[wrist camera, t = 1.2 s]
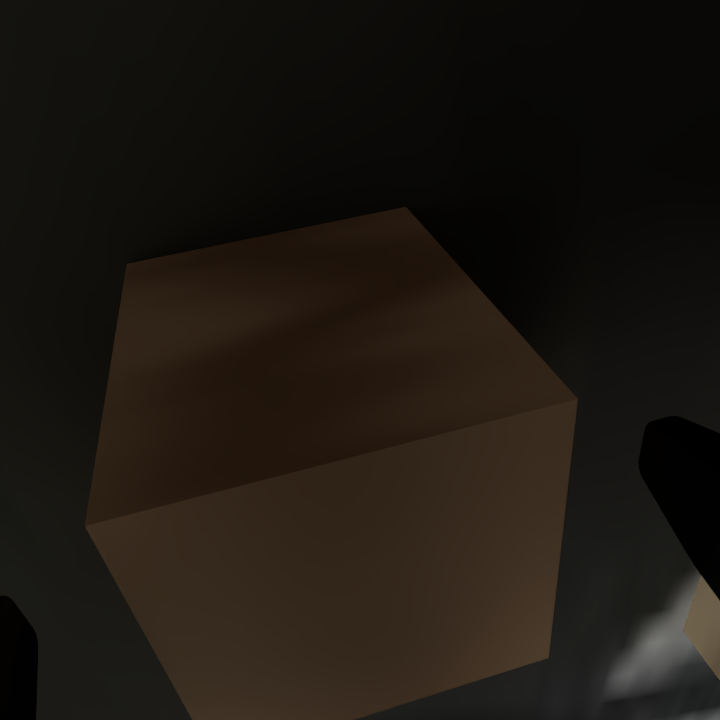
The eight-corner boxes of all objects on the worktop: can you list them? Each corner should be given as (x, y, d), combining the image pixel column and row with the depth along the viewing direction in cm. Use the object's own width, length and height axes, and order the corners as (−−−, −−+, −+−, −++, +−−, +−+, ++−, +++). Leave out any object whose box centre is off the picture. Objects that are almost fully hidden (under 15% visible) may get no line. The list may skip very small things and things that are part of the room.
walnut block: (405, 205, 11) (577, 399, 6) (420, 415, 14) (548, 658, 9) (126, 262, 11) (84, 526, 6) (201, 470, 13) (216, 763, 9)
